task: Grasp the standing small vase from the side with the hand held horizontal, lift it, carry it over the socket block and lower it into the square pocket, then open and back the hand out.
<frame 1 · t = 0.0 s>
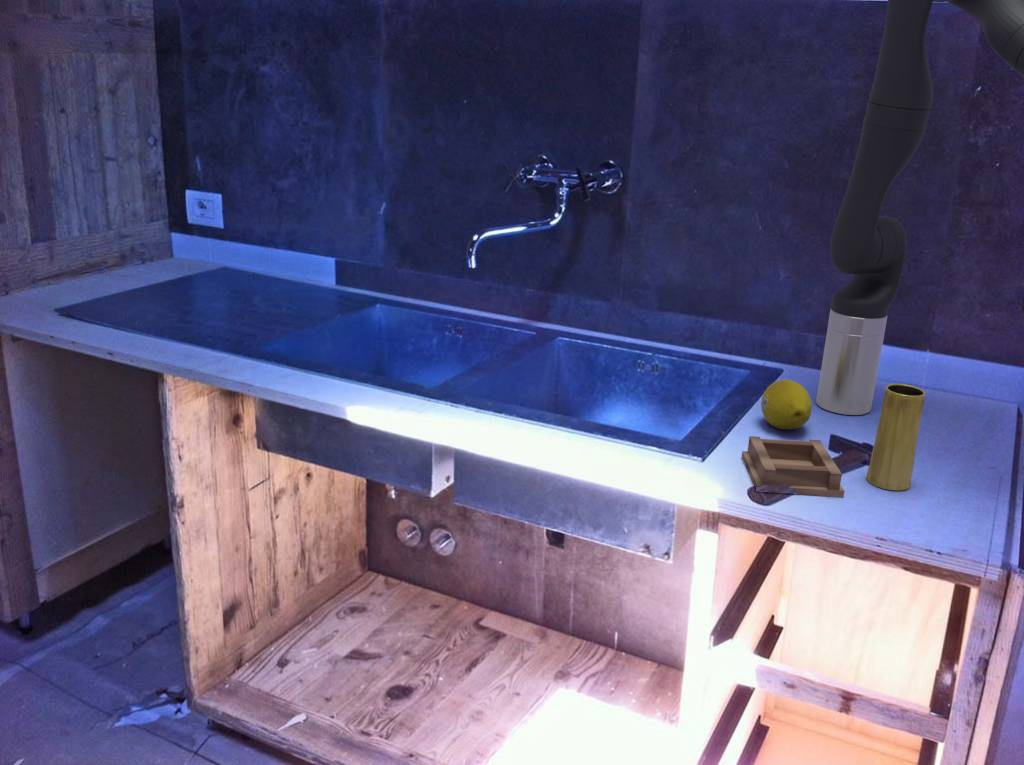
socket block: (790, 476, 136), on the counter
lemon: (782, 429, 154), on the counter
vase: (887, 483, 136), on the counter
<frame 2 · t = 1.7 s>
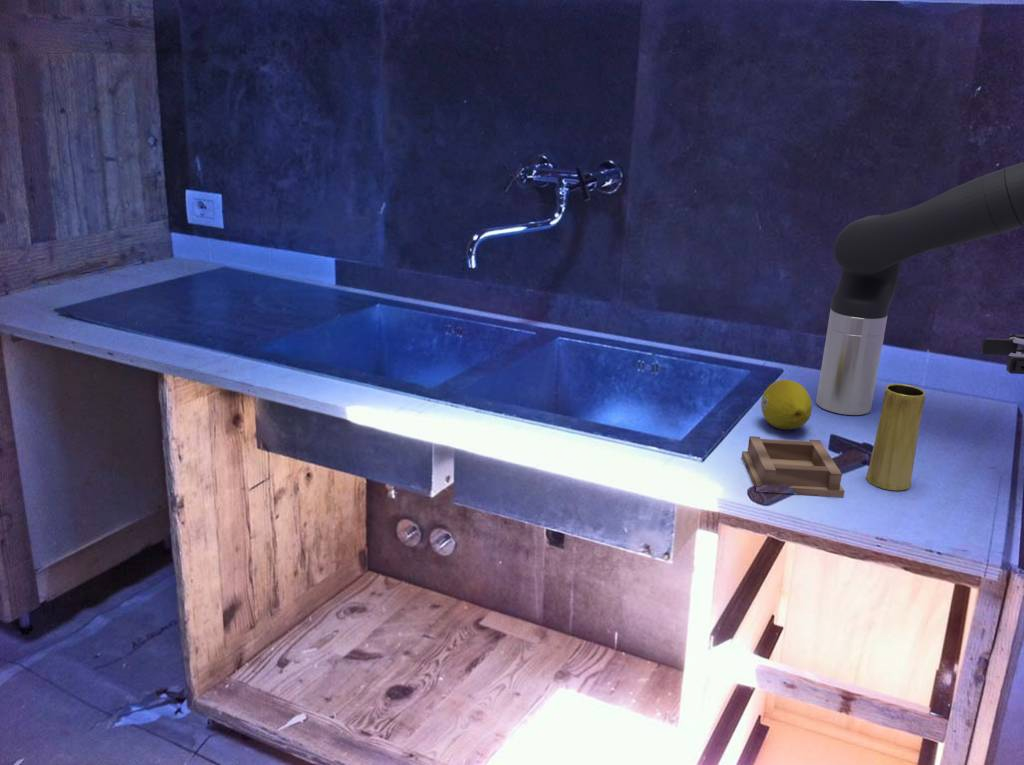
hand: (995, 355, 128), 20 cm above the counter, fingers open, 8 cm apart
nothing on the counter moved.
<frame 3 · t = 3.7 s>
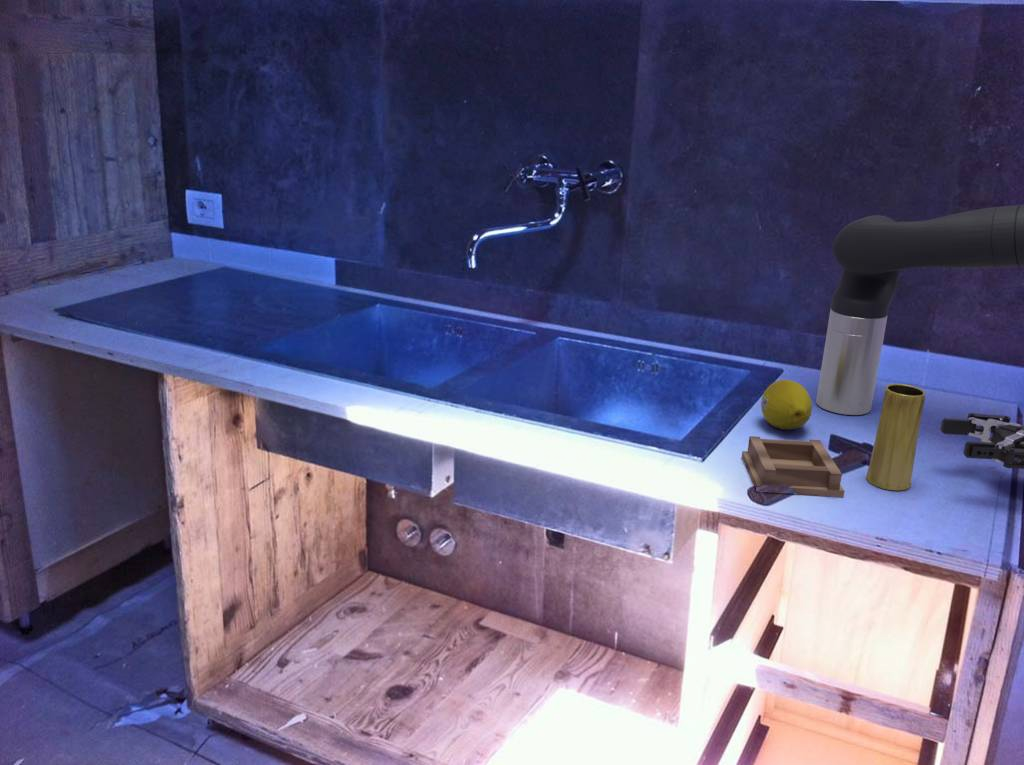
hand: (953, 437, 133), 7 cm above the counter, fingers open, 8 cm apart
nothing on the counter moved.
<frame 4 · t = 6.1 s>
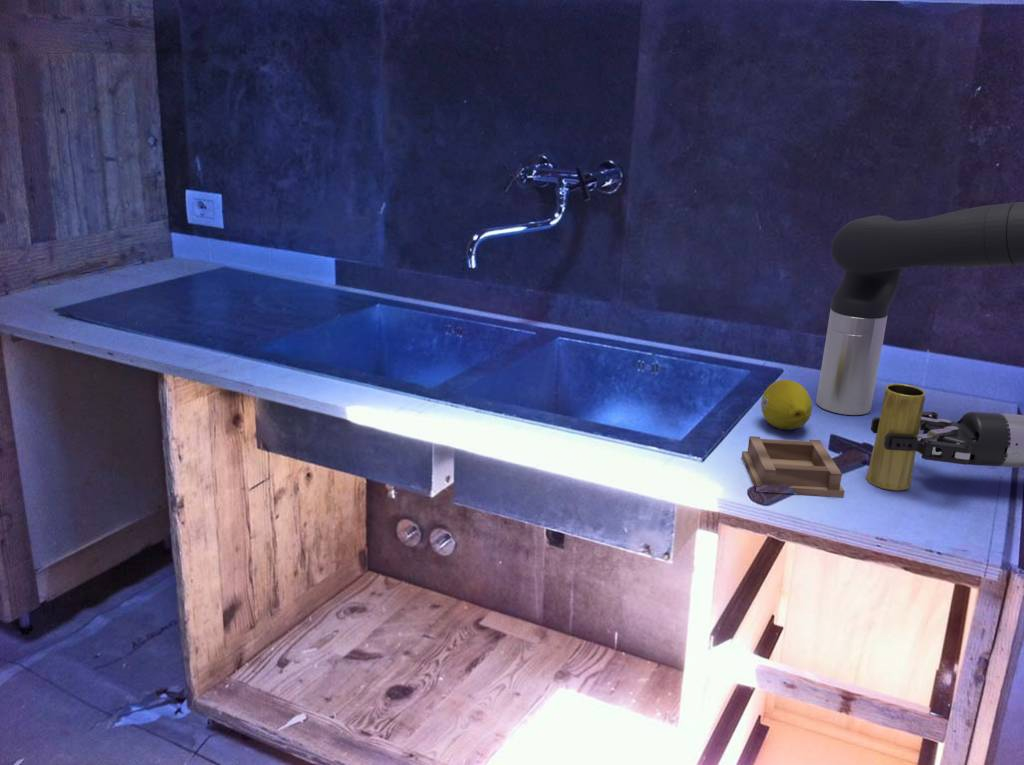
hand: (879, 433, 133), 8 cm above the counter, fingers closed on vase, 5 cm apart
vase: (887, 483, 136), on the counter, touching gripper
everything else where it was.
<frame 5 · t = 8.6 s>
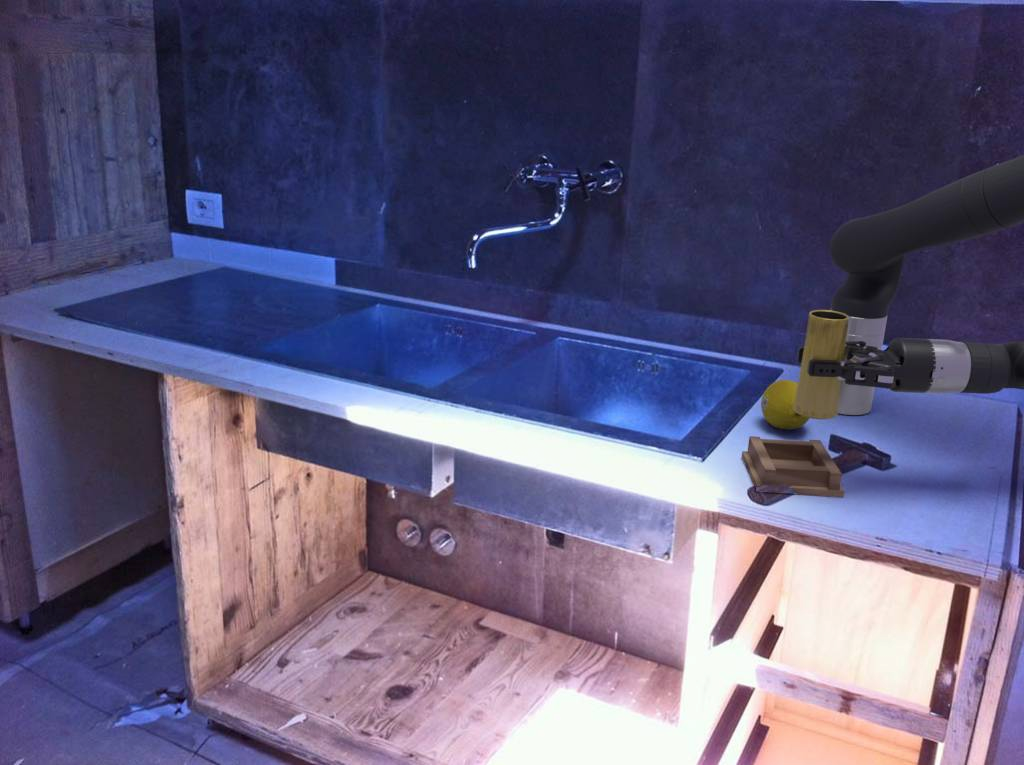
hand: (803, 360, 130), 18 cm above the counter, fingers closed on vase, 5 cm apart
vase: (814, 413, 133), point 10 cm above the counter, touching gripper
everything else where it was.
when the fingers open (9 cm above the counter, at t = 11.4 s): vase stays where it is, resting on socket block.
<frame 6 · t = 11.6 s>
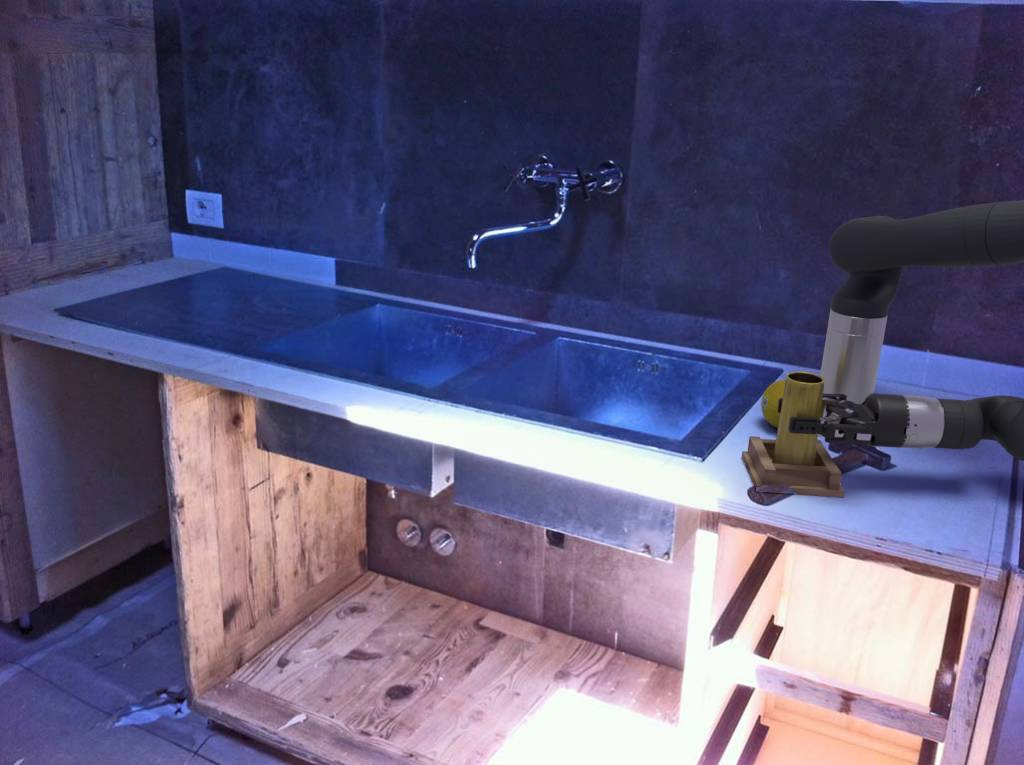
hand: (783, 414, 133), 9 cm above the counter, fingers open, 7 cm apart
vase: (792, 470, 136), point 1 cm above the counter, touching socket block
everything else where it was.
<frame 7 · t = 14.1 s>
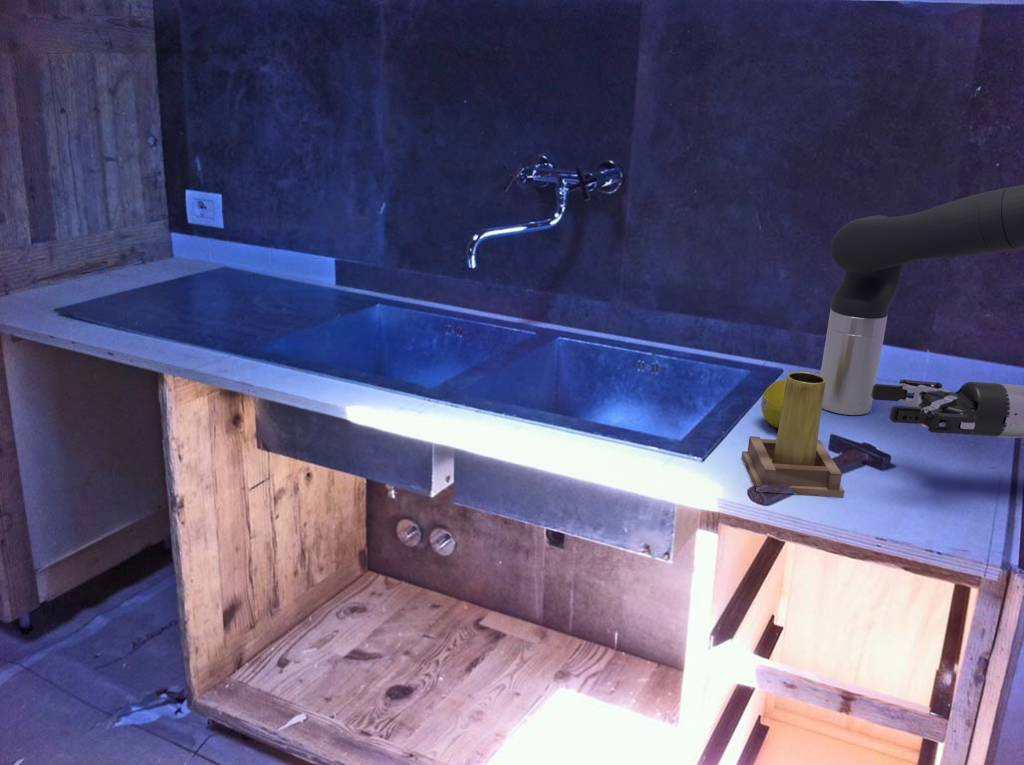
hand: (881, 402, 132), 12 cm above the counter, fingers open, 8 cm apart
nothing on the counter moved.
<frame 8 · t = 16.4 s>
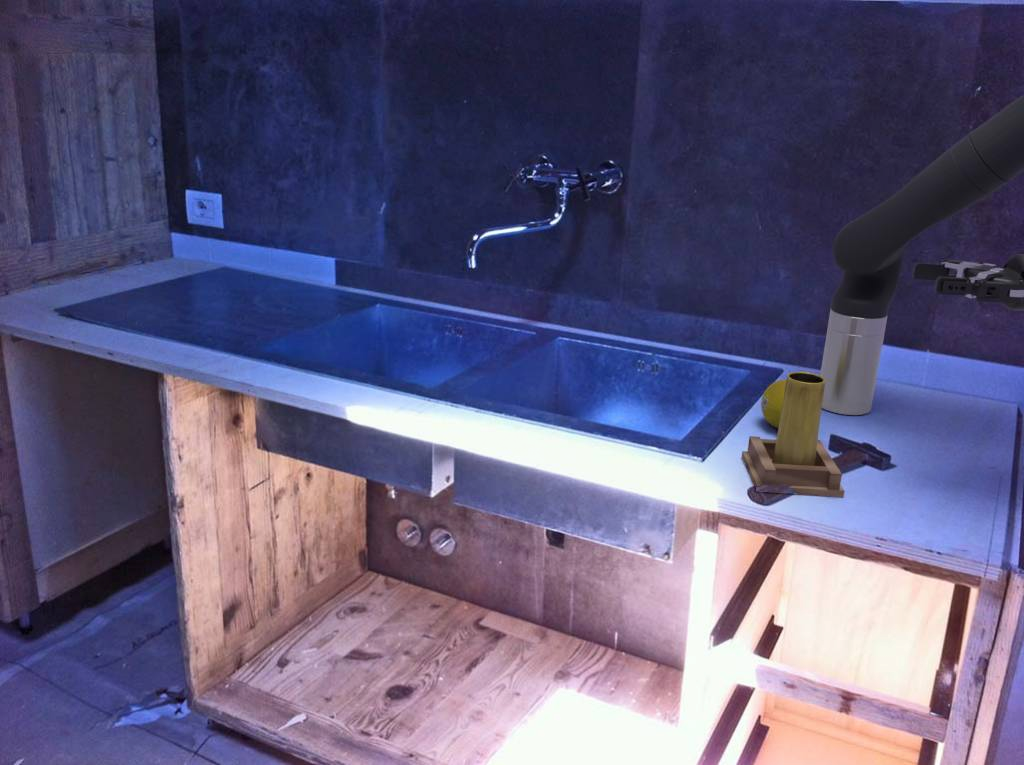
hand: (924, 277, 126), 30 cm above the counter, fingers open, 8 cm apart
nothing on the counter moved.
at the end: vase 0.1 cm off-centre on the socket block, point 0.8 cm above the socket block's base; vase tilted 0°; the gripper is holding nothing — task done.
